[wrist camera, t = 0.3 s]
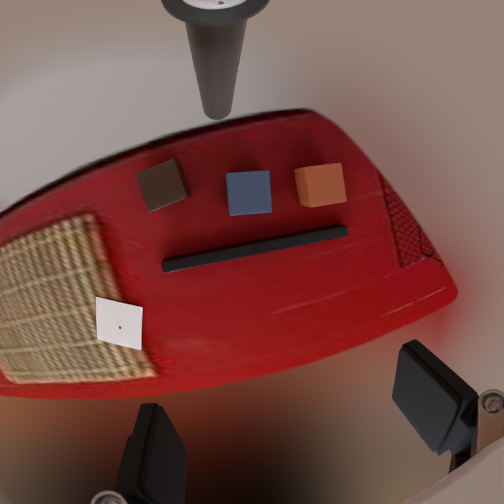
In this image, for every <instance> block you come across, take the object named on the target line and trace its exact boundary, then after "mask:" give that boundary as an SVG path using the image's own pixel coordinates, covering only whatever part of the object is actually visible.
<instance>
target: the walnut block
mask: <svg viewBox="0 0 504 504" xmlns="http://www.w3.org/2000/svg"><path fill="white" fill-rule="evenodd" d="M136 176H137V179H138V182H139V185H140V188H141V191H142V194H143V197H144V200H145V203H146V206H147V208H148V211H149V212H152V211H154V210H157V209H160V208H162V207H165V206H167V205H170V204H172V203H175V202H178V201H180V200H183V199H185V198H188V197H191V196H192V195H191V192H190V189H189V186H188V184H187V181H186V178H185V175H184V172H183V169H182V166H181V163H180V161H178V160H176V159H175V158H172V159H170V160H167V161H165V162H162V163H160V164H157V165H155V166H153V167H150V168H148V169H146V170H143V171H141V172H139V173H136Z"/></svg>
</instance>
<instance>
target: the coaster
mask: <svg viewBox="0 0 504 504" xmlns="http://www.w3.org/2000/svg"><path fill="white" fill-rule="evenodd" d="M142 309H143V307H138V306H134V305H129V304H125V303H120V302H116V301H112V300H108V299H104V298H100V297H96V322H97V339H98V340H102V341H106V342H110V343H113V344H117V345H121V346H125V347H129V348H134V349H138V350H141V333H142Z"/></svg>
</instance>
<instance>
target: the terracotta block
mask: <svg viewBox="0 0 504 504" xmlns="http://www.w3.org/2000/svg"><path fill="white" fill-rule="evenodd" d="M294 174H295V180H296V186H297V192H298V199H299V204H300V205H303V206H307V207H316V206H322V205H328V204H334V203H341V202H346V201H347V200H346V193H345V185H344V179H343V172H342V166H341V163H333V164H324V165H316V166H308V167H302V168H297V169H294Z"/></svg>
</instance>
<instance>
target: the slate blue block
mask: <svg viewBox="0 0 504 504" xmlns="http://www.w3.org/2000/svg"><path fill="white" fill-rule="evenodd" d="M226 185H227V197H228V209H229V214H230V216H233V215H244V214H256V213H268V212H272V201H271V186H270V172H269V170H263V171H248V172H234V173H227V174H226Z"/></svg>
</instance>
